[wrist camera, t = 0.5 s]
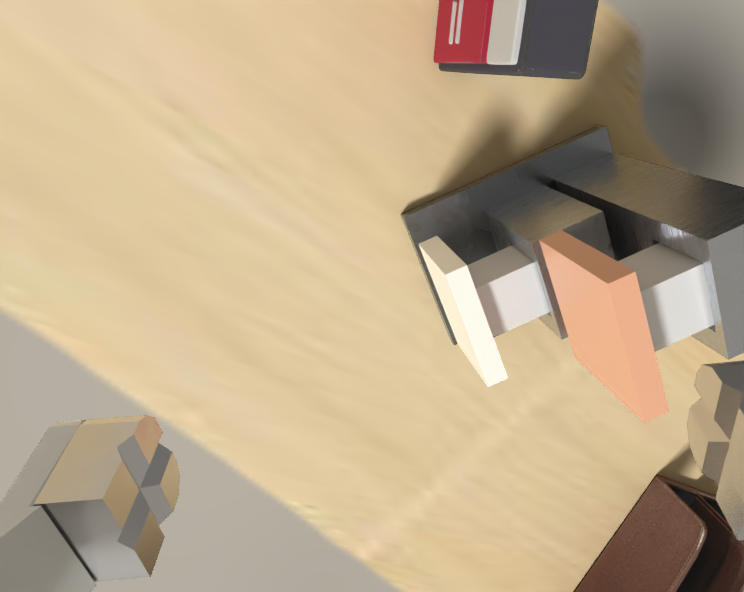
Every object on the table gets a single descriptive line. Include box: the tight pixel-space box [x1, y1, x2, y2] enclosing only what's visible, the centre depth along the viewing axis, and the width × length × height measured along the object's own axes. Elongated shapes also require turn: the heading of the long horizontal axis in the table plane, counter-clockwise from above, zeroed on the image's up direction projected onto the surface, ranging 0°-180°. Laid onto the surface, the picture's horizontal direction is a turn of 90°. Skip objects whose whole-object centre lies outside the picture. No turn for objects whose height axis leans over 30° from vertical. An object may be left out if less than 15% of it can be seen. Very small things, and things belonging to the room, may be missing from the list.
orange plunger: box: [539, 230, 714, 423], centre depth 35 cm, size 9×8×8 cm
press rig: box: [401, 125, 744, 360], centre depth 41 cm, size 12×17×18 cm
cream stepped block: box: [419, 236, 550, 387], centre depth 43 cm, size 9×8×7 cm
